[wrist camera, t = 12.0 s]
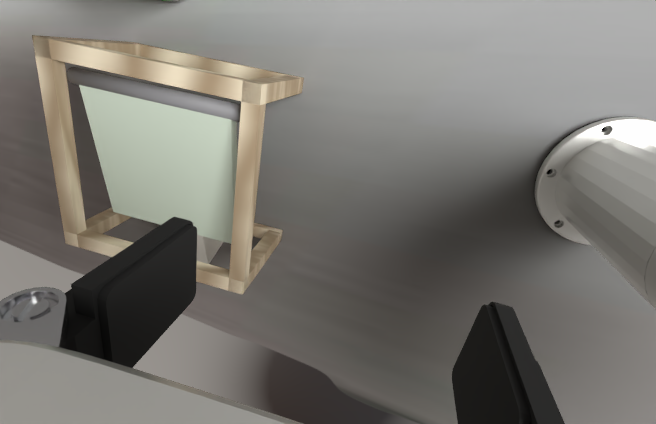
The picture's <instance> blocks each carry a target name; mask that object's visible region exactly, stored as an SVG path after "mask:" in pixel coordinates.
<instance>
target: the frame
mask: <svg viewBox="0 0 656 424" xmlns="http://www.w3.org/2000/svg"><path fill="white" fill-rule="evenodd" d="M32 39H33V45H34V51H35V57H36V63H37V69H38V76H39V82H40V88H41V94H42V100H43V106H44V113H45V119H46V125H47V131H48V137H49V143H50V150H51V156H52V162H53V168H54V174H55V180H56V187H57V193H58V199H59V205H60V211H61V217H62V224H63V230H64V236H65V242H66V244H69V245H72V246H76V247H79V248H83V249H86V250H90V251H93V252H97V253H100V254H104V255H107V256H110V257H113V256H115V255H116V254H118V253H119V252H121V251H122V250H124V249H125V248H127V247H128V246H130V245H131V244H133V243H132V242H129V241H125V240H122V239H118V238H115V237H111V236H108V235H104V234H103V233H105V232H106V231H108V230H110V229H112V228H114V227H115V226H117V225H119V224H121V223H122V222H124V221H126V220H128V219H130V218H131V217H130V216H127V215H123V214H119V213H116V212H113V209H112V207H111V208H109V209H107V210H105V211H103V212H101V213H99V214H97V215H95V216H93V217H91V218H89V219H87V220H85V214H84V207H83V199H82V191H81V184H80V176H79V168H78V161H77V153H76V145H75V138H74V130H73V122H72V115H71V107H70V99H69V92H68V84H67V76H66V69H65V62H67V63H71V64H76V65H80V66H85V67H89V68H94V69H98V70H103V71H107V72H112V73H116V74H121V75H125V76H130V77H134V78H139V79H143V80H148V81H152V82H157V83H161V84H166V85H170V86H175V87H179V88H184V89H188V90H193V91H197V92H202V93H206V94H211V95H215V96H220V97H224V98H229V99H233V100H238V101H241V113H240V128H239V142H238V156H237V171H236V185H235V199H234V214H233V228H232V242H231V256H230V270H228V269H225V268H221V267H217V266H214V265H210V264H207V263H203V262H200V261H197V265H196V281H197V282H200V283H204V284H207V285H211V286H214V287H217V288H221V289H224V290H228V291H231V292H235V293H238V294H242V295H243V293H244V292H245V291H246V289H247V288H248V286H249V285H250V284H251V282H252V281H253V279H254V278H255V277H256V275H257V274H258V272H259V271H260V270H261V268H262V267H263V265H264V264H265V262H266V261H267V260H268V258H269V257H270V255H271V254H272V253H273V251H274V250H275V248H276V247H277V246H278V244H279V243H280V241H281V238H282V231H283V230H281V229H277V228H273V227H269V226H265V225H262V224H258V223H254V218H255V208H256V198H257V188H258V178H259V167H260V157H261V147H262V137H263V127H264V117H265V107H266V103H270V102H273V101H276V100H280V99H283V98H287V97H290V96H293V95H297V94H300V93H302V87H303V80H304V78H302V77H297V76H292V75H287V74H283V73H278V72H273V71H268V70H264V69H259V68H254V67H249V66H244V65H240V64H235V63H230V62H225V61H220V60H216V59H211V58H206V57H201V56H197V55H192V54H187V53H182V52H177V51H173V50H168V49H163V48H158V47H154V46H149V45H144V44H139V43H134V42H122V41H108V40H93V39H79V38H64V37H50V36H35V35H32ZM253 236H254V237H257V238H261V240H260V241H259V242H258V244H257V245H256V246H255V247H254V248H253V250H252V251H251V248H252V238H253Z"/></svg>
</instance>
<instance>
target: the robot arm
mask: <svg viewBox="0 0 656 424" xmlns="http://www.w3.org/2000/svg"><path fill="white" fill-rule="evenodd" d="M603 127H605V129H604V131H602V128H603ZM550 169H551V171H550V172H549V173H547V171H548V170H550ZM535 200H536V206H537V208H538V210H539V213H540V215H541V216H542V218H543V219H544V220H545V222H546V223H547V224H548V225H549V226H550V228H551V229H552V230H554V231H555V232H556V233H558V234H559V235H561V236H562V237H564V238H566V239H569V240H571V241H573V242H577V243H581V244H585V245H592V246H593V247H594V248H595V249H596V250H597V251H598V252H599V253H600V254H601V255H602V256H603V257H604V258H605V259H606V260H607V261H608V262H609V263H610V264H611V265H612V266H613V267H614V268H615V269H616V270H617V271H618V272H619V273H620V274H621V275H622V276H623V277H624V278H625V279H626V280H627V281H628V282H629V283H630V284H631V285H632V286H633V287H634V288H635V289H636V290H637V291H638V292H639V293H640V294H641V295H642V296H643V297H644V298H645V299H646V300H647V301H648V302H649V303H650V304H651V305H652V306H653V307H654V308H655V309H656V122H655V121H652V120H648V119H643V118H638V117H617V118H610V119H604V120H601V121H598V122H595V123H591V124H589V125H587V126H585V127H583V128H581V129H578V130H576V131H575V132H573V133H572V134H570V135H569V136H567V137H566V138H565V139H563V140H562V141H561V142H560V143H559V144H558V145H557V146H556V147H555V148H554V149H553V150H552V151H551V152H550V154H549V155H548V156H547V157H546V159H545V160H544V162H543V164H542V166H541V168H540V170H539V172H538V175H537V179H536V182H535ZM557 220H558V221H557ZM556 221H557V222H556ZM196 265H197V228H196V227H195V226H193V222H192V221H190V220H186V219H182V218H178V217H172V218H171V219H169V220H168V221H166V222H165V223H163V224H162V225H160V226H159V227H157V228H156V229H154V230H153V231H151V232H150V233H148V234H146V235H145V236H143V237H142V238H140V239H139V240H137V241H136V242H134V243H133V244H131V245H130V246H128V247H127V248H125V249H124V250H122V251H121V252H119V253H118V254H116V255H115V256H113V257H112V258H110V259H109V260H107V261H106V262H104V263H103V264H101V265H100V266H98V267H97V268H95V269H94V270H92V271H91V272H89V273H88V274H86V275H85V276H83V277H82V278H80V279H78V280H77V281H75V282H74V283H73V284H72V285H71V287H72V289H71V290H69V291H68V292H66V293H65V294H64V293H63V292H62V291H61V290H58V289H55V288H50V287H39V288H32V289H26V290H23V291H20V292H17V293H14V294H12V295H10V296H8V297H6V298H4V299H3V300H1V301H0V424H303V423H300V422H297V421H294V420H290V419H287V418H284V417H281V416H278V415H275V414H272V413H269V412H266V411H263V410H260V409H257V408H254V407H251V406H248V405H245V404H242V403H238V402H235V401H233V400H229V399H226V398H223V397H220V396H217V395H214V394H211V393H208V392H205V391H202V390H199V389H195V388H192V387H189V386H186V385H183V384H180V383H177V382H174V381H171V380H167V379H164V378H161V377H158V376H155V375H152V374H149V373H145V372H142V371H139V370H136V369H133V366H134V365H135V364H136V363H137V362H138V361H139V360H140V359H141V358H142V356H143V355H144V354H145V353H146V352H147V351H148V350H149V348H151V346H152V345H153V344H154V343H155V342H156V341H157V340H158V339H159V337H160V336H161V335H162V334H163V333H164V332H165V331H166V330H167V329H168V328H169V326H170V325H171V324H172V323H173V322H174V321H175V320H176V319H177V318H178V316H179V315H180V314H181V313H182V312H183V311H184V310H185V309H186V308H187V307H188V305H189V304H190V303H191V302H192V301H193V299H194V297H195V293H196ZM452 383H453V390H454V397H455V405H456V412H457V419H458V424H565V423H564V421H563V419H562V416H561V414H560V412H559V409H558V407H557V405H556V402H555V400H554V398H553V396H552V393H551V391H550V389H549V386H548V384H547V382H546V379H545V377H544V375H543V372H542V370H541V368H540V366H539V364H538V362H537V361H535V359H534V356H533V354H532V352H531V349H530V347H529V344H528V342H527V340H526V337H525V335H524V333H523V330H522V328H521V326H520V323H519V321H518V318H517V316H516V314H515V311H514V309H513V308H512V307H510V306H506V305H502V304H498V303H495V302H491V303H490V304H489V305H488V306H487V305H483V306H482V307H481V309H480V311H479V313H478V315H477V318H476V320H475V322H474V324H473V326H472V329H471V331H470V333H469V335H468V337H467V339H466V342H465V344H464V346H463V348H462V350H461V352H460V355H459V357H458V359H457V361H456V363H455V365H454V368H453V372H452Z"/></svg>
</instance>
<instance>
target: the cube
mask: <svg viewBox="0 0 656 424" xmlns="http://www.w3.org/2000/svg"><path fill="white" fill-rule="evenodd" d="M222 244H223V242H222V241H218V240H215V239H211V238H207V237H204V236H200V235H197V261H200V262H203V263H207V264H209V263H210V262H211V260H212V259H213V257H214V256H215V254H216V253H217V251H218V250H219V248H220V247H221V245H222Z"/></svg>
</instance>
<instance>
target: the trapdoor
mask: <svg viewBox="0 0 656 424" xmlns="http://www.w3.org/2000/svg"><path fill="white" fill-rule="evenodd" d="M67 79H68V81H69V82H70V83H72V84H75V85H79V87H80V90H81V94H82V98H83V102H84V105H85V109H86V113H87V116H88V120H89V124H90V128H91V131H92V135H93V139H94V142H95V146H96V150H97V153H98V157H99V161H100V165H101V168H102V172H103V176H104V179H105V183H106V187H107V191H108V194H109V198H110V202H111V205H112V209H113V212H116V213H119V214H123V215H127V216H130V217H134V218H138V219H141V220H145V221H149V222H152V223H156V224H160V225H162V224H163V223H165V222H166V221H168V220H169V219H171V218H172V217H178V218H182V219H186V220H190V221H192V222H193V226H195V227H196V228H197V235H200V236H204V237H207V238H211V239H215V240H218V241H222V242H226V243H229V244H231V242H232V228H233V214H234V199H235V185H236V171H237V122H240V113H241V104H237V103H232V102H228V101H223V100H219V99H214V98H210V97H205V96H201V95H196V94H192V93H187V92H183V91H178V90H174V89H170V88H165V87H161V86H156V85H152V84H147V83H143V82H138V81H134V80H129V79H125V78H120V77H116V76H111V75H107V74H102V73H98V72H93V71H89V70H84V69H80V68H75V67H71V68H69V69H68V71H67Z"/></svg>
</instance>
